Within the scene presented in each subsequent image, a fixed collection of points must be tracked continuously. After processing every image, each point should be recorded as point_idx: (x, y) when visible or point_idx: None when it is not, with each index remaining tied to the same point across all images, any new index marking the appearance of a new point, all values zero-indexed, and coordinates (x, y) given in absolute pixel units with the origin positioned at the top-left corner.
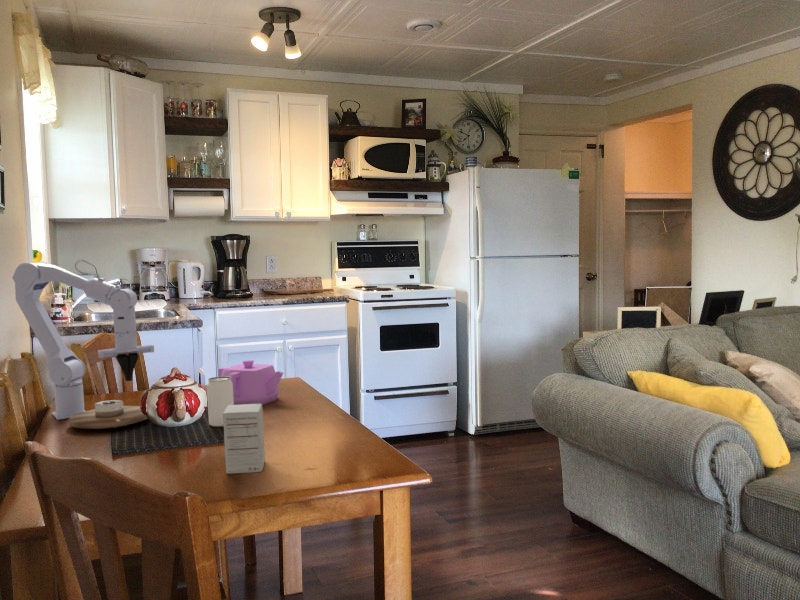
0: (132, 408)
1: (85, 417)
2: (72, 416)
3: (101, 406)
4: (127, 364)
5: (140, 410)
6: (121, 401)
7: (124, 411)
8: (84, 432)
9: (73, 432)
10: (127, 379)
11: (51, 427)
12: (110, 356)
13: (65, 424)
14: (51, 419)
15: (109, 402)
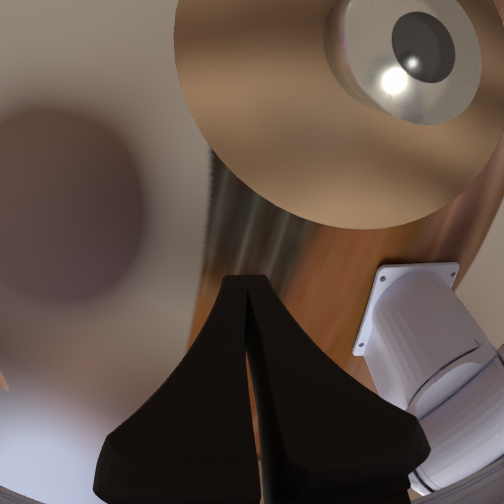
0: (252, 106)
1: None
2: (488, 157)
3: (463, 12)
4: (284, 383)
5: (229, 22)
6: (357, 19)
7: (310, 61)
8: None
9: None
10: (262, 279)
11: (499, 182)
12: (463, 479)
13: (469, 190)
14: (454, 286)
15: (425, 36)
